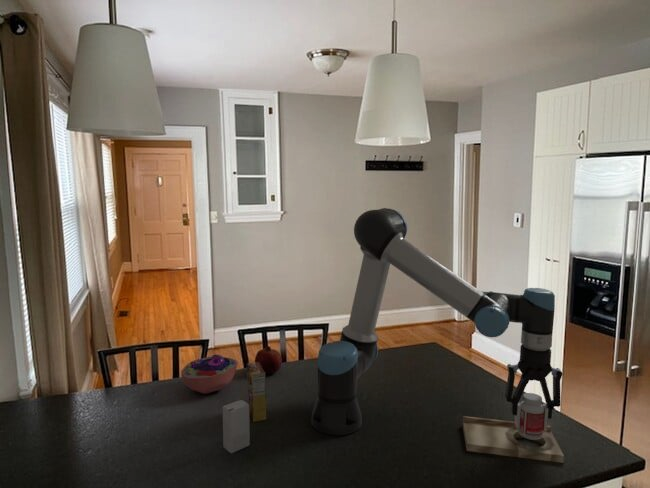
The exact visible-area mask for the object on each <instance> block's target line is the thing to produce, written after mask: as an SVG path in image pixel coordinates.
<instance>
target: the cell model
mask: <svg viewBox="0 0 650 488" xmlns="http://www.w3.org/2000/svg"><path fill="white" fill-rule="evenodd" d="M238 364H239V362H238V361H237V360H236V359H233V358H229V357H226V356H222V355H221V354H213V355H212V356H207V357H203V358H198V359H194V360H192V361H190V362H189V363H187V364H186V365H185V366H184V367H183V368H182V370H181V371H180V373H181V380H182V383H183V384H184V385H185V386H187V387H188V388H189V389H191V390H192V391H194V392H197V393H201V394H203V395H204V394H205V395H206V394H211V393H213V392H217V391H222V390H224V389H225V388H227V386H228V385H230V383H231V382H232V380H233V379H234V377H235V375H236V371H237V367H238Z"/></svg>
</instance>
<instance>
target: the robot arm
mask: <svg viewBox="0 0 650 488" xmlns="http://www.w3.org/2000/svg"><path fill="white" fill-rule="evenodd" d="M407 232H408V223H407V221H406V219H405V217H404V216H403V215H402V213H400V211H397V210H396V209H392V208H387V207H383V208H380V209H370V210H366V211H365V212H362V214H360V215H359V216H358V218H357V219H356V220H355V223H354V226H353V235H354V238H355V240H356V242H357V244H358V245H359V246H360V248H359V249H360V251H361V252H362V254H363V257H362V261H361V266H360V270H359V275H358V280H357V283H356V287H355V292H354V297H353V301H352V307H351V311H350V315H349V319H348V324H347V325H345V326H344V327H342V329H341V330H342V331H341V334H340V339H339V340H334V341H331V342H330V341H329V342H327V343H325V344H323V345H322V346H321V347H320V349H319V350H318V355H317V359H316V361H317V362H316V364H317V365H316V366H317V398H316V401H315V403H314V406H313V409H312V411H311V412H312V413H311V422H310V423H311V425H312V427H313V428H314V429H315V430H316V431H318V432H320V433H322V434H325V435H329V436H330V435H331V436H345V435H350V434H353V433H355V432H357V431H358V430H360V428H362V425H363V423H362V422H363V421H362V418H363V415H362V412H361V409H360V406H359V402H358V399H357V398H358V397H357V385H358V382H357V381H358V379H359V378H360V377H361V376H362V375H363V374H364V373H365V372H366V371H367V370H369V369H370V368H371V367H372V366H373V364H375V362H376V359H377V357H378V354H379V346H378V338H379V336H378V334H377V333H376V330H375V329H376V326H377V322H378V318H379V314H380V309H381V305H382V302H383V296H384V292H385V289H386V284H387V280H388V275H389V271H390V266H391V265H392V266H393V267H394V268H396V269H397V270H399V271H400V272H402V273H403V274H404V275H406V276H407V277H409V278H410V279H411V280H413V281H415V282H416V283H418V284H419V285H421V286H422V287H423V288H425V289H426V290H427V291H428V292H430V293H431V294H433V295H434V296H435V297H437V298H438V299H440V300H441V301H443V302H445V304H446V305H448V306H450V307H451V308H452V309H454V310H455V311H457V312H458V313H460V314H461V315H463V316H464V317H466V318H467V319H468V320H469V321H471V322H472V323H474V326H475V329H476V330H477V331H478V332H479V334H481V335H482V336H484V337H487V338H497V337H500V336H502V335H503V334H504V333H505V332H506V331H507V329H508V327H509V325H510V323H517V324H521V325H522V326H521V336H520V343H521V345H520V351H519V360H518V362H517V364H511V363H508V364H507V365H506V367H507V372H508V374H507V381H506V387H505V395H504V397H505V400H506V402H508V403H511V409H510V410H511V414H512V415H513V416H514V422H515V426H516V428H520V413H521V405H520V403H521V402H520V400H521V398H522V397H523V395H524V394H523V393H524V392H525V390H526V387H527V385H528V384H529V382H530V381H531V382H532V381H536V382H539V384H540V387H541V391H542V393H543V397H544V400H545V403H542V406H543V407H544V421H543V431H546V432H547V425H548V419H549V420H551V419H552V418H553V416H552V415H553V411H554V408H556V407H558V408H560V406H561V405H562V404H561V379H562V376H563V371H562V370H561V369H560V368H558V367H557V368H554V367H552V365H551V361H552V346H553V332H554V321H555V320H554V318H555V310H556V309H555V306H556V305H555V304H556V303H555V300H556V298H555V297H556V295H555V294H554V292H553V291H551V290H549V289H546V288H541V287H540V288H539V287H528V288H526V289H524V291H523V293H522V294H514V293H513V294H511V293H503V292H502V293H501V292H495V291H493V290H492V291H490V290H489V291H481V290H480V289H478V288H477V287H475V286H473V285H472V284H471V283H469V282H468V281H467V280H465V279H463V278H462V277H461V276H459V275H458V274H456V273H454V272H453V271H451V270H450V269H449V268H447V267H446V266H444V265H443V264H441V263H440V262H439V261H437V260H436V259H434V258H432V257H431V256H429V255H428V254H427V253H426V252H424V251H422V250H421V249H419V248H418V247H417V246H415V245H413V244H412V243H410V242H409V241H407V240H406V239H405V238H406V236H407ZM518 370H519V371H520V372H521V375H520V379H519V381H518V383H517V385H516V387H515V388H516V389H515V391H514V385H515V378H516V377H515V375H516V374H517V373H518ZM550 373H551V375H552V398H551V395H550V390H549V388H548V382H547V380H546V378H547V376H549V375H550ZM513 392H514V393H513Z"/></svg>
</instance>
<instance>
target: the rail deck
mask: <svg viewBox="0 0 650 488" xmlns="http://www.w3.org/2000/svg"><path fill="white" fill-rule="evenodd" d="M462 430H463V437H464V442H465V447H466V451H467V452H473V453H481V454H490V455H491V454H492V455H496V456H497V455H498V456H504V457H505V456H506V457H513V458H514V457H516V458H522V459H529V460H530V459H531V460H537V461H546V462H553V463H561V464H563V463H564V461H565V460H564V459H565V455H564V453H563V452H562V450H561V447H560V446H559V443H558V442H557V440H556V438H555V436H554V434H553V432H552V426H551V425H548V424H547V432H546V431H543V435H542V438H541V439H538V440H535V441H536V442H538V443H539V444H541V446H531V445H525V444H523V443H520V441H518V440H517V439H519V438H520V439H521V438H524V439H526V438H525V437H523V436H521V435H520V434H519V432H518V428H516V426H515V421H513V420H512V421H511V420H502V419H494V418H484V417H477V416H476V417H475V416H466V415H463V416H462Z"/></svg>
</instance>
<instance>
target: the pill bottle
mask: <svg viewBox="0 0 650 488" xmlns="http://www.w3.org/2000/svg"><path fill="white" fill-rule="evenodd" d="M519 403H520V405H521V413H520V428H518V432H519V434H520V435H521V436H523V437H525V438H524V439H527V440H530V441H531V440H532V441H536V440H538V439H541V438H542V435H543V421H544V407H543V397H542V396H541V395H540V394H536V393H533V392H525V393H524V394H522V400H521V402H519ZM523 437H522V438H523Z"/></svg>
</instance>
